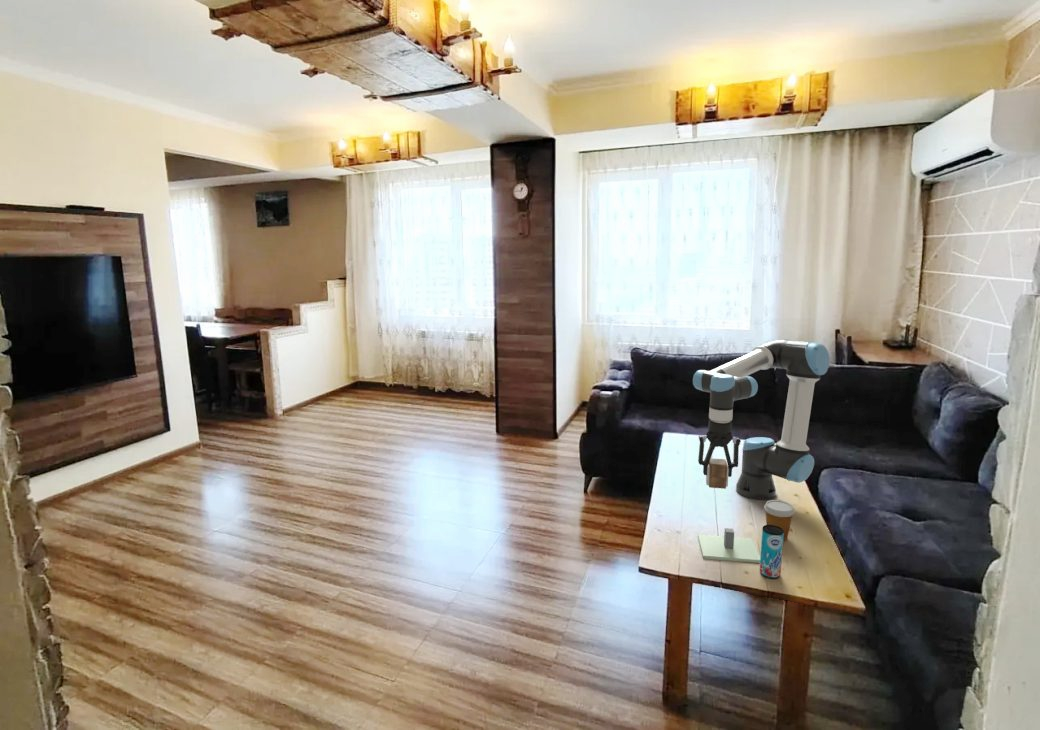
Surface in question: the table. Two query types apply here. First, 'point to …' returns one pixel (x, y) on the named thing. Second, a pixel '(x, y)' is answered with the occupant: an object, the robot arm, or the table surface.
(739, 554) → the post board
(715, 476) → the box
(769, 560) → the teal and black cylinder
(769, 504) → the disposable coffee cup
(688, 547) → the table surface
